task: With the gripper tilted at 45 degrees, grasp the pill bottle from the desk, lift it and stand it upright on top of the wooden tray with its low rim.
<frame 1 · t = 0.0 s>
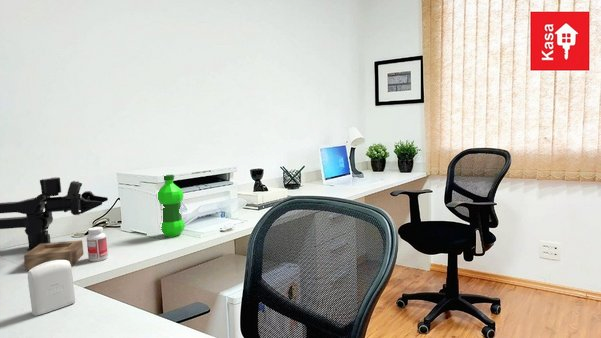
hand: (104, 201, 175), 17 cm above the table, tool horizontal, fingers open, 9 cm apart
plastic bottle: (172, 235, 184), on the table
pill bottle: (98, 259, 155), on the table
wooden tray: (56, 262, 154), on the table
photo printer: (54, 308, 115), on the table
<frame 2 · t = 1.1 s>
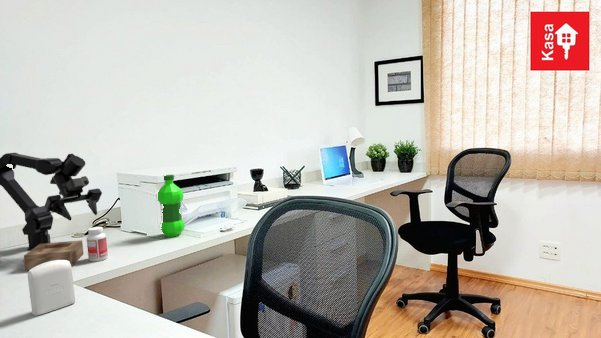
hand: (83, 216, 159), 14 cm above the table, tool tilted 45°, fingers open, 9 cm apart
nothing on the table moved.
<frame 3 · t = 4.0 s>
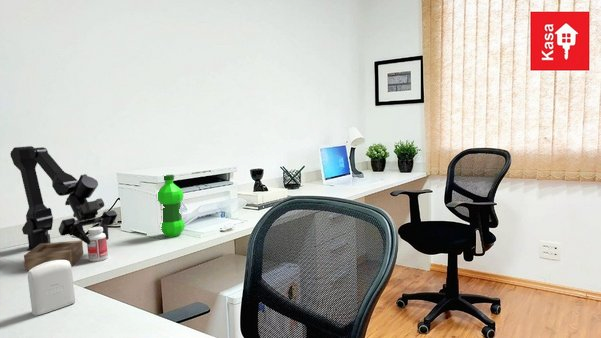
hand: (98, 241, 154), 7 cm above the table, tool tilted 45°, fingers closed on pill bottle, 6 cm apart
pill bottle: (98, 259, 155), on the table, touching gripper
everything else where it was.
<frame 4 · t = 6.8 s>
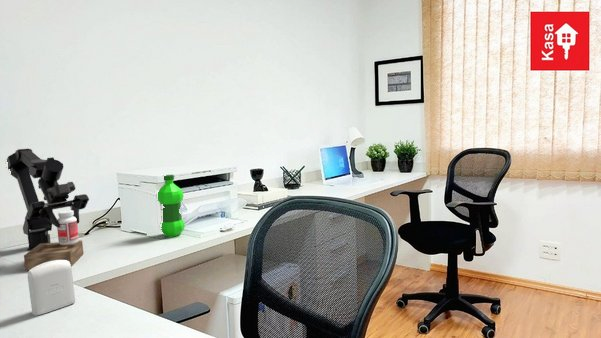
hand: (68, 224, 152), 13 cm above the table, tool tilted 45°, fingers closed on pill bottle, 6 cm apart
pill bottle: (69, 243, 154), point 6 cm above the table, touching gripper
everything else where it was.
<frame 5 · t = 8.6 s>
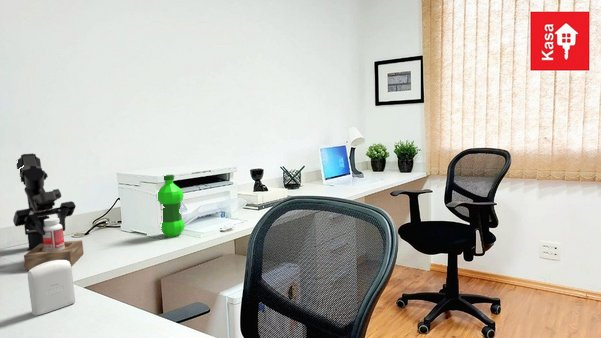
hand: (54, 232, 152), 11 cm above the table, tool tilted 45°, fingers closed on pill bottle, 6 cm apart
pill bottle: (54, 250, 153), point 4 cm above the table, touching gripper
everything else where it was.
when the fingers open (11 cm above the table, at t = 9.9 s): pill bottle stays where it is, resting on wooden tray.
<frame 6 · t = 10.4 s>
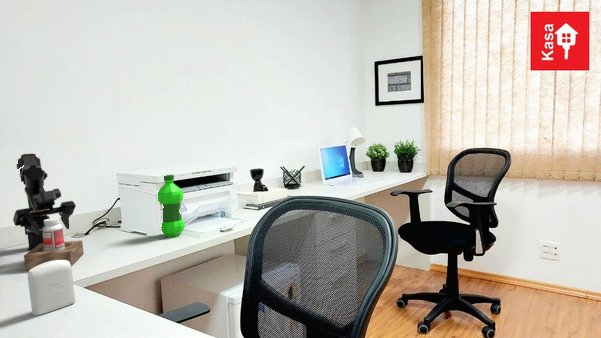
hand: (54, 231, 151), 11 cm above the table, tool tilted 45°, fingers open, 9 cm apart
pill bottle: (54, 251, 153), point 4 cm above the table, touching wooden tray
everything else where it was.
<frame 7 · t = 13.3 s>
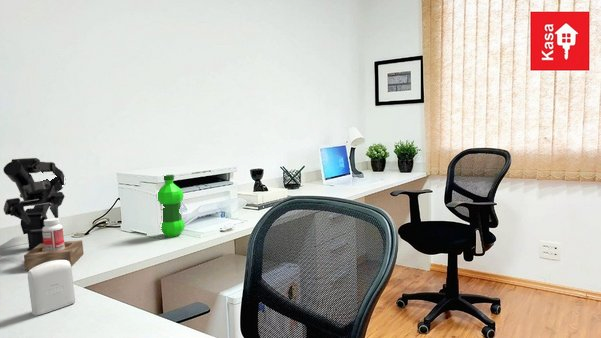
hand: (43, 220, 157), 14 cm above the table, tool tilted 45°, fingers open, 9 cm apart
nothing on the table moved.
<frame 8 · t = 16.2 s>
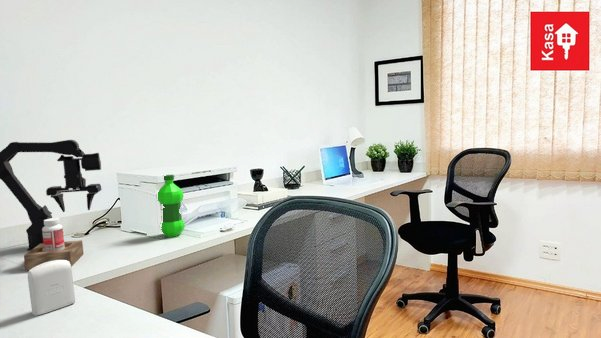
hand: (76, 211, 176), 13 cm above the table, tool pointing down, fingers open, 9 cm apart
nothing on the table moved.
at the end: pill bottle point 3.8 cm above the table; pill bottle 0.2 cm from the wooden tray (horizontally); pill bottle tilted 0° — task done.
